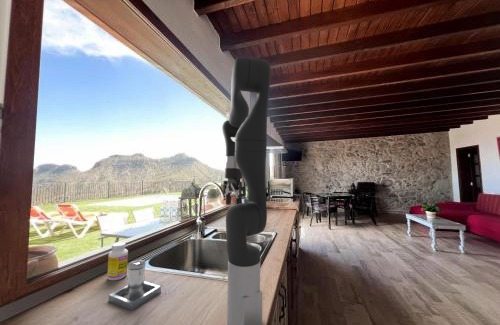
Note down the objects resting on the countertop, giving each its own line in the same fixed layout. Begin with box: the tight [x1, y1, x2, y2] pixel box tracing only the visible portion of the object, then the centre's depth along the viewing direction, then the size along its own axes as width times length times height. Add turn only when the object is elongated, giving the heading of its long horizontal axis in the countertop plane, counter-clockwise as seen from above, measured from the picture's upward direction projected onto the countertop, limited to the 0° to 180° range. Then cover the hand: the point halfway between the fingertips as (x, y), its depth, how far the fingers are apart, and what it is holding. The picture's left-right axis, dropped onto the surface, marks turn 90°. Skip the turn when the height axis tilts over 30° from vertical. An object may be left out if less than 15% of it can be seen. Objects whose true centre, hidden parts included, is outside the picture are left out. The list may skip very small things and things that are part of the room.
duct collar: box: [108, 281, 162, 311], centre depth 71 cm, size 11×11×2 cm
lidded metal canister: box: [126, 259, 146, 301], centre depth 71 cm, size 5×5×11 cm
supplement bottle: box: [106, 241, 129, 281], centre depth 84 cm, size 7×7×13 cm
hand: (233, 205), depth 89 cm, fingers open, 8 cm apart
